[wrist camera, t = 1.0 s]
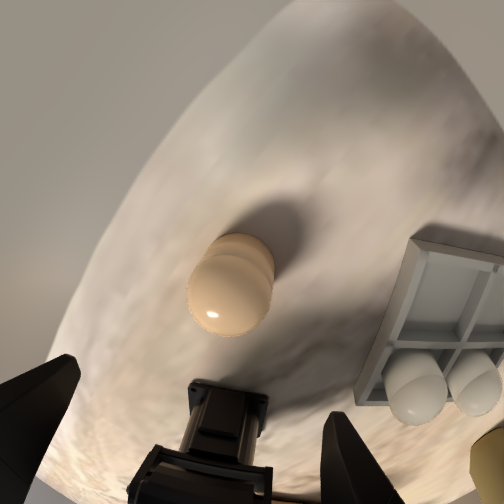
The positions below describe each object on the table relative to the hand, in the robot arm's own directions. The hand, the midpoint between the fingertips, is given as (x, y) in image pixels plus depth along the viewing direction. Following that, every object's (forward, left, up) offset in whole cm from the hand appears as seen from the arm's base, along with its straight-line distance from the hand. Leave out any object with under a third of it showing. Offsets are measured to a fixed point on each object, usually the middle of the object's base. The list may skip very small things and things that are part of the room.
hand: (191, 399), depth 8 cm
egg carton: (-3, -16, -10) cm, 19 cm away
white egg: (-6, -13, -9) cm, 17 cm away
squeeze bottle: (-22, -36, -10) cm, 43 cm away
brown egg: (0, 0, -10) cm, 10 cm away
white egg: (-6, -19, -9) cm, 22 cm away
